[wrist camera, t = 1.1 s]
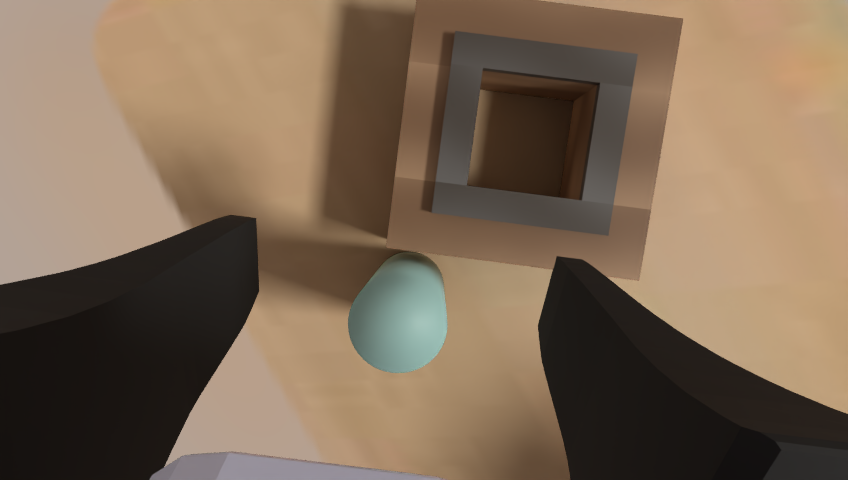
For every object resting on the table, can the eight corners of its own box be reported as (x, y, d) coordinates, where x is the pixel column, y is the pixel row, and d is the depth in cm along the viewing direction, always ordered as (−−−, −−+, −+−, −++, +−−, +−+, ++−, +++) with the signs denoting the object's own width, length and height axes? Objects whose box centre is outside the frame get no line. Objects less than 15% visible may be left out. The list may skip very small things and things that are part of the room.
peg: (438, 324, 23) (440, 379, 16) (370, 315, 23) (342, 366, 16) (448, 256, 23) (453, 282, 16) (378, 247, 23) (354, 269, 16)
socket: (610, 269, 23) (642, 282, 19) (392, 240, 23) (384, 248, 19) (647, 44, 22) (688, 14, 18) (420, 15, 22) (418, -20, 19)
